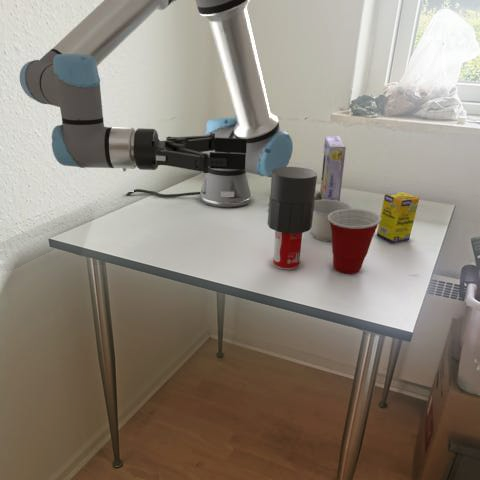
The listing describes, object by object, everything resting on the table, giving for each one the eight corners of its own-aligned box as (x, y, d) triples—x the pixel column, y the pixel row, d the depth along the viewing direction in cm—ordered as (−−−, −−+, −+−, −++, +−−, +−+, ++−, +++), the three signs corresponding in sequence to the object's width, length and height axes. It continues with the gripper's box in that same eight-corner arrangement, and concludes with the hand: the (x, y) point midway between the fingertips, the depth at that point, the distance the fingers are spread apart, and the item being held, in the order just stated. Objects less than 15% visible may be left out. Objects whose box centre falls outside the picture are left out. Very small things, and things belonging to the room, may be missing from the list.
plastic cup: (315, 258, 107) (322, 206, 101) (362, 258, 108) (371, 207, 102) (327, 279, 98) (335, 224, 92) (377, 279, 99) (389, 224, 93)
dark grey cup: (262, 229, 96) (265, 174, 90) (275, 216, 103) (279, 164, 98) (304, 236, 94) (311, 180, 88) (315, 222, 101) (321, 170, 95)
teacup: (351, 233, 122) (356, 202, 118) (345, 248, 113) (350, 215, 109) (298, 225, 125) (302, 195, 121) (288, 239, 117) (292, 207, 112)
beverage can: (299, 260, 106) (306, 193, 98) (299, 272, 100) (307, 203, 92) (272, 258, 106) (277, 191, 98) (271, 270, 101) (276, 201, 93)
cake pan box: (318, 191, 154) (325, 133, 145) (333, 192, 154) (341, 134, 144) (321, 209, 137) (330, 146, 128) (339, 210, 137) (348, 147, 128)
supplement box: (392, 244, 116) (401, 200, 111) (375, 235, 121) (384, 193, 115) (410, 240, 119) (420, 197, 113) (393, 232, 123) (402, 191, 118)
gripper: (150, 154, 104) (246, 158, 104) (123, 186, 83) (244, 191, 83) (147, 118, 100) (247, 121, 100) (118, 141, 79) (245, 146, 79)
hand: (246, 153), depth 91 cm, fingers open, 13 cm apart
